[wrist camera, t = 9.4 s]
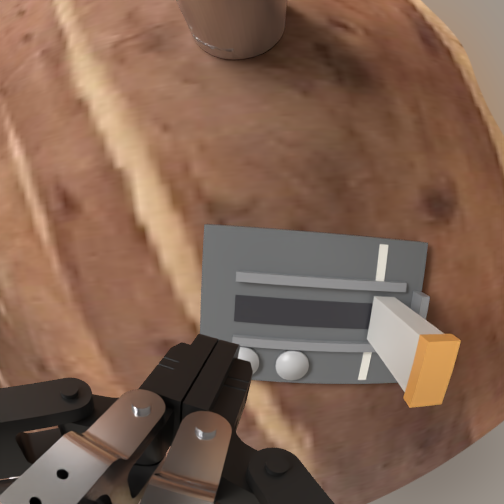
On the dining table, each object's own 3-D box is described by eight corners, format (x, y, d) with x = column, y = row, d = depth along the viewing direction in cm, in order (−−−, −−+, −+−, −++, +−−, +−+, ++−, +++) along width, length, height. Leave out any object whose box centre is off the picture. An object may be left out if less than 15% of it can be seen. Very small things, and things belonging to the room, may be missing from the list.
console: (202, 368, 30) (195, 384, 27) (207, 223, 28) (199, 225, 25) (397, 377, 29) (408, 391, 26) (422, 241, 27) (438, 245, 24)
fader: (364, 340, 27) (409, 407, 16) (372, 293, 27) (428, 341, 15) (388, 341, 27) (441, 404, 16) (396, 294, 26) (460, 340, 15)
